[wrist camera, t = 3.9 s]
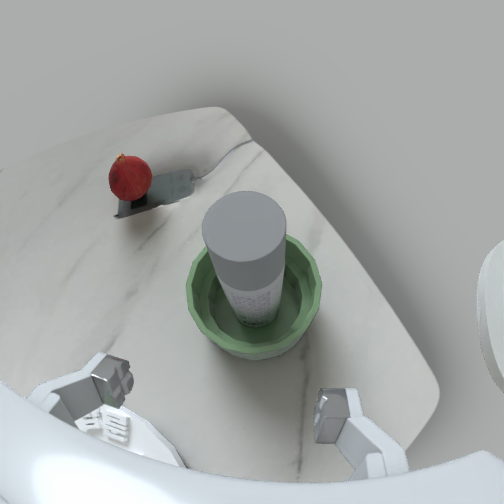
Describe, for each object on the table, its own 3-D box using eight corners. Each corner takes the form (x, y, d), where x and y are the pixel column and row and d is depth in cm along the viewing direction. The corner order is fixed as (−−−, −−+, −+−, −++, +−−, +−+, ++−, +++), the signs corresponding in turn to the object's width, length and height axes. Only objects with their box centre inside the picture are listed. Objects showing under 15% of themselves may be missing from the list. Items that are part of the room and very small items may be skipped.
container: (288, 300, 28) (306, 214, 14) (261, 337, 26) (252, 282, 13) (251, 276, 29) (236, 177, 16) (223, 310, 28) (181, 233, 14)
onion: (136, 219, 34) (110, 180, 27) (115, 201, 36) (90, 164, 29) (167, 190, 36) (148, 148, 29) (143, 174, 38) (124, 135, 31)
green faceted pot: (316, 267, 30) (326, 236, 24) (300, 368, 25) (310, 363, 19) (218, 251, 31) (206, 219, 25) (191, 346, 26) (170, 335, 21)
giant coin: (184, 564, 13) (177, 575, 11) (48, 495, 16) (35, 498, 13) (214, 435, 22) (208, 440, 19) (62, 373, 25) (46, 370, 22)
